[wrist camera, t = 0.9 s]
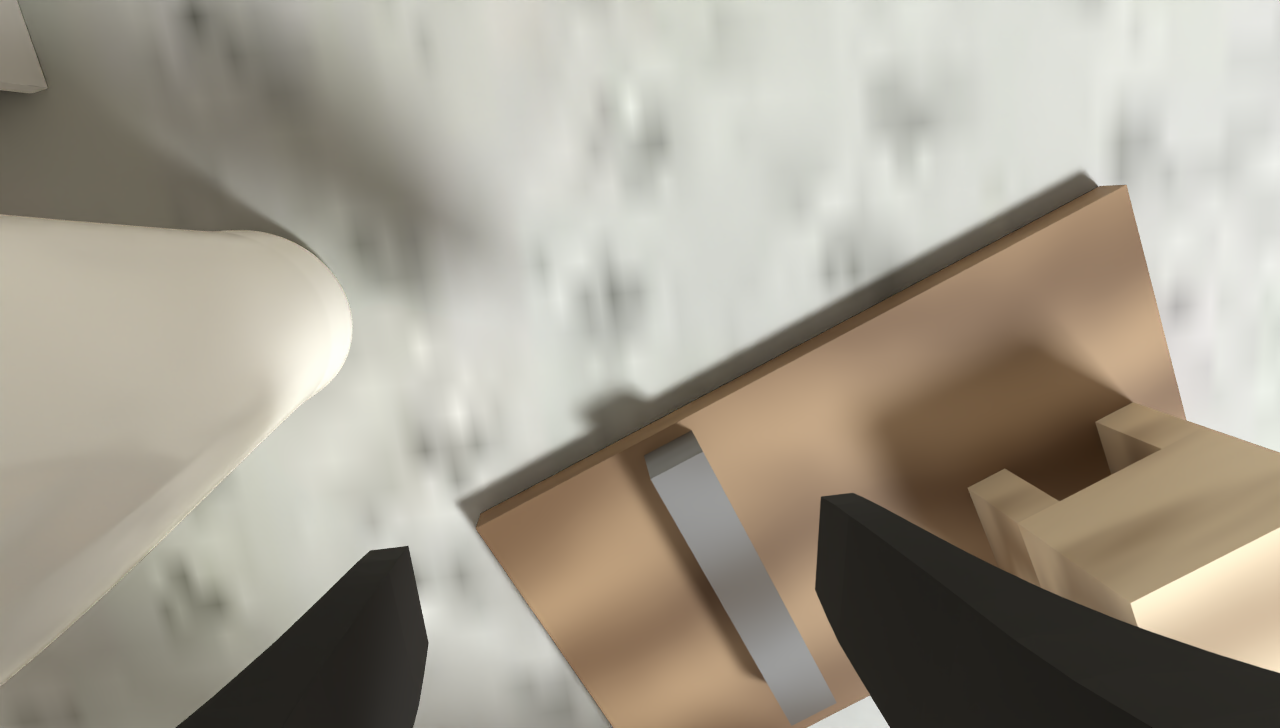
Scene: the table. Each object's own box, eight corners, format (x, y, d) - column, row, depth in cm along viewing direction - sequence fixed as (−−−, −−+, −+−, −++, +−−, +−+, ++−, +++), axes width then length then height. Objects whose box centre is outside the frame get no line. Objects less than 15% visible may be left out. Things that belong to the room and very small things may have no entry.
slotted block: (1163, 511, 22) (1390, 626, 16) (1007, 590, 23) (1173, 735, 16) (1133, 402, 21) (1367, 482, 15) (967, 487, 21) (1130, 603, 15)
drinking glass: (171, 422, 19) (-1176, 1128, 4) (129, 201, 17) (-2317, 153, 3) (392, 418, 19) (-134, 1013, 5) (373, 206, 18) (-500, 188, 3)
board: (1186, 508, 24) (1264, 546, 21) (660, 776, 24) (670, 847, 22) (1099, 186, 20) (1181, 181, 17) (480, 513, 21) (466, 559, 18)
